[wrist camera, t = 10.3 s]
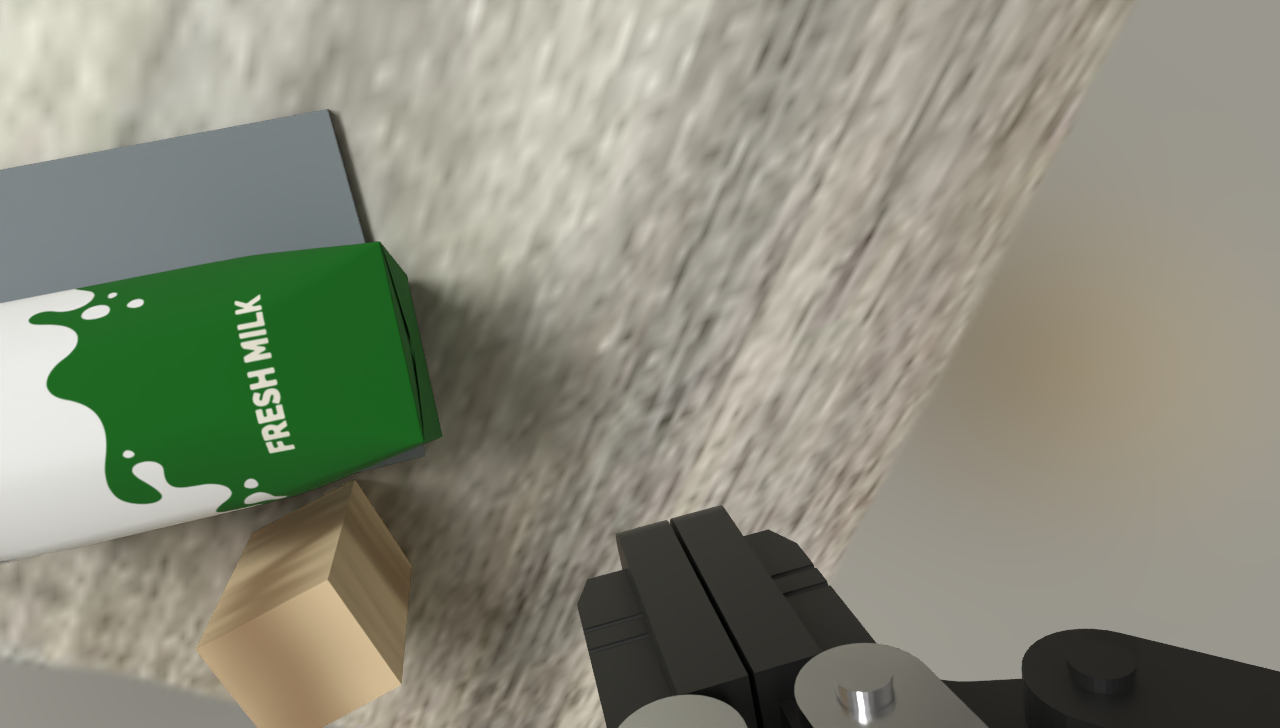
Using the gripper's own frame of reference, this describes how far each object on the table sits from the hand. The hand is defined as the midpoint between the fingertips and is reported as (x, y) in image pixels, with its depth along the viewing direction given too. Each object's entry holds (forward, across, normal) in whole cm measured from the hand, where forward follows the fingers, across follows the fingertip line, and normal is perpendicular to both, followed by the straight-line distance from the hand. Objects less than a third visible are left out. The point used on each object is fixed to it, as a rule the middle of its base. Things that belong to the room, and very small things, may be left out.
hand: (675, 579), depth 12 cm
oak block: (+27, +11, +11) cm, 31 cm away
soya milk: (+22, +5, +1) cm, 23 cm away
